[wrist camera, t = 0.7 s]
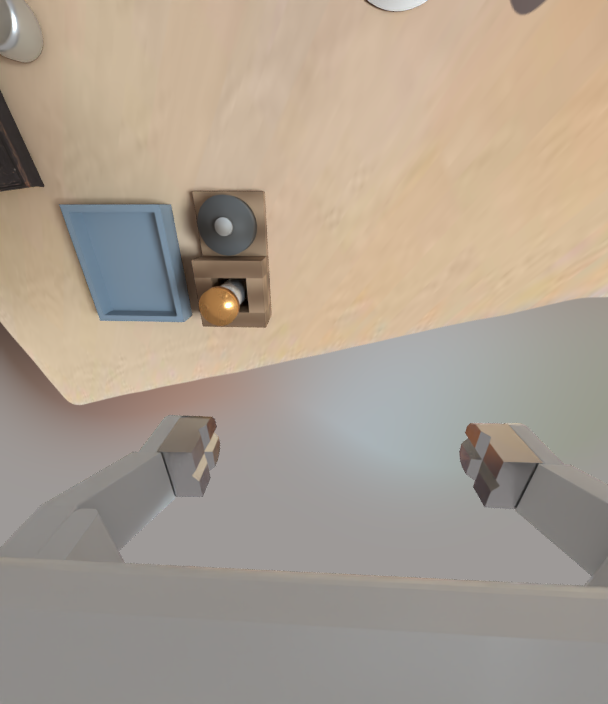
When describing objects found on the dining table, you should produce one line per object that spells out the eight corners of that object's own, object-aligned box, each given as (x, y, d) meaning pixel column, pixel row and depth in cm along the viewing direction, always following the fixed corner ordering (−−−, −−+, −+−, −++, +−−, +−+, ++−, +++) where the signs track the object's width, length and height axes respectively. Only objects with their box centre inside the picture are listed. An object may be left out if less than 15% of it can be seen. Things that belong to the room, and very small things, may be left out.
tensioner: (196, 191, 42) (178, 189, 37) (264, 191, 42) (256, 189, 37) (215, 313, 51) (202, 326, 46) (271, 314, 51) (265, 327, 46)
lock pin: (223, 270, 48) (195, 288, 37) (253, 270, 47) (234, 289, 37) (227, 300, 50) (202, 325, 39) (256, 300, 50) (238, 326, 39)
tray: (77, 204, 44) (59, 204, 41) (170, 204, 43) (159, 204, 40) (113, 313, 52) (100, 320, 49) (192, 315, 52) (184, 322, 49)
